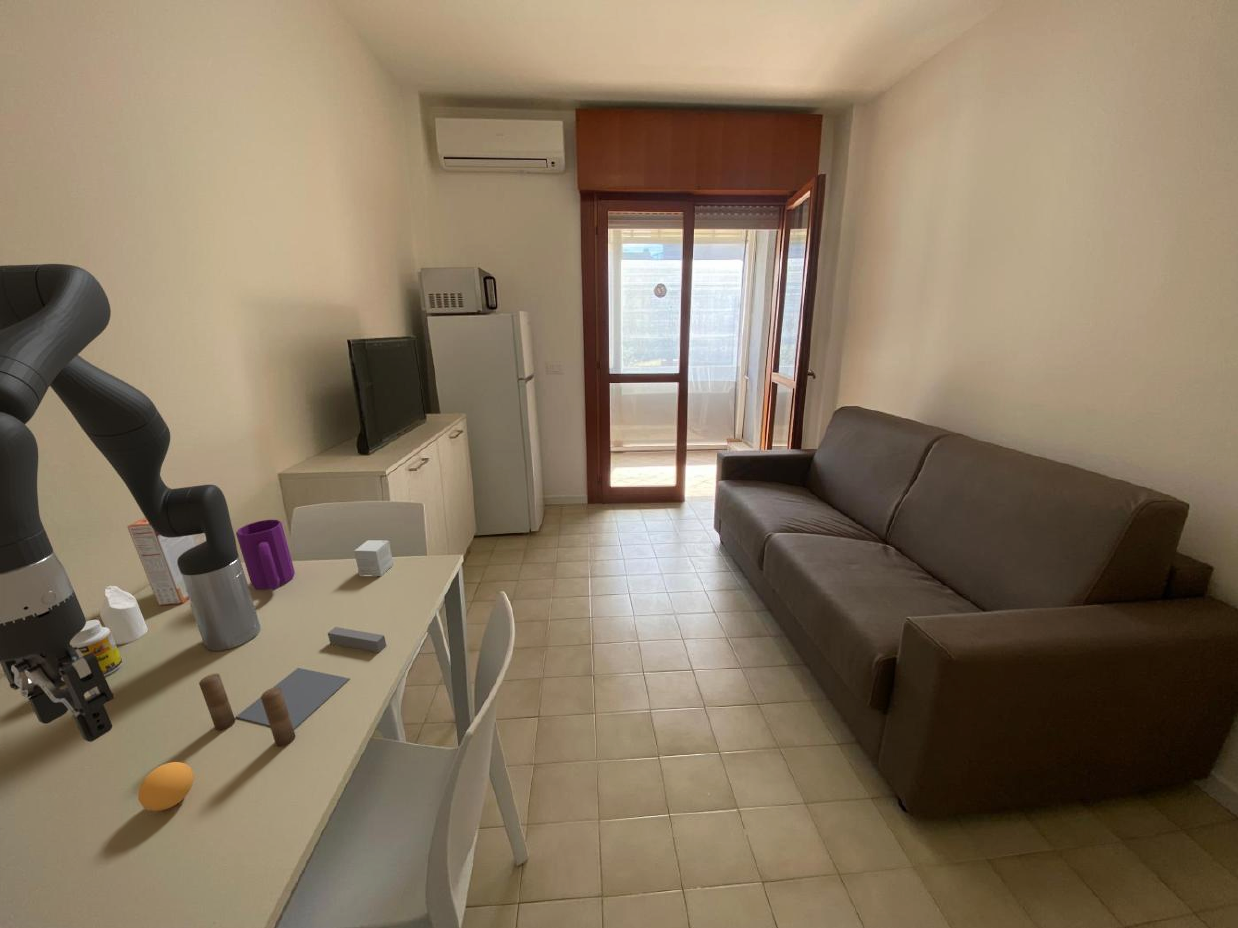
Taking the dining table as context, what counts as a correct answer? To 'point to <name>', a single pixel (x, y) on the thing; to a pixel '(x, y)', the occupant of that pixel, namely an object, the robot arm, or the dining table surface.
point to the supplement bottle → (98, 646)
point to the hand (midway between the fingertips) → (76, 726)
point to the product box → (374, 557)
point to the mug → (266, 554)
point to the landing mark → (298, 696)
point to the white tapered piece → (122, 615)
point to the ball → (165, 786)
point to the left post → (217, 702)
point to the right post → (278, 716)
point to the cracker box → (163, 560)
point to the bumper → (357, 639)
